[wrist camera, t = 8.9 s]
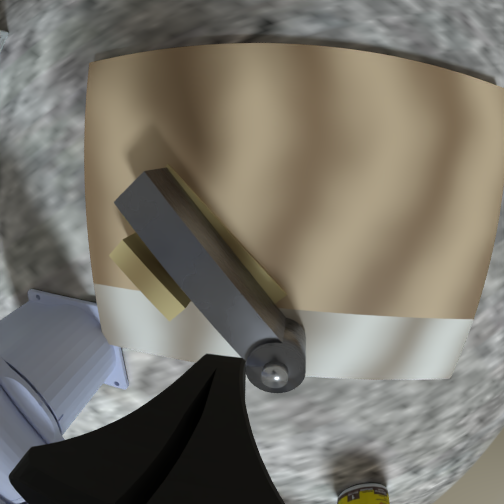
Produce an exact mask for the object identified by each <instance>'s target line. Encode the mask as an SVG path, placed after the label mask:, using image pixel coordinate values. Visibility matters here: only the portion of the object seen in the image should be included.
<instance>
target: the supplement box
mask: <svg viewBox="0 0 504 504" xmlns="http://www.w3.org/2000/svg"><path fill="white" fill-rule="evenodd" d="M8 34H9V32H7V31H4V30H0V53H1V50H2V48H3V45H4V43H5V40H6V38H7V36H8Z"/></svg>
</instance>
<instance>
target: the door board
mask: <svg viewBox="0 0 504 504" xmlns="http://www.w3.org/2000/svg"><path fill="white" fill-rule="evenodd" d="M166 167H167V168H168V169H169V171H170V172H171V173H172V175H173V176H174V177H175V178H176V180H177V181H178V182H179V184H180V185H181V186H182V187H183V189H184V190H185V191H186V193H187V194H188V195H189V196H190V198H191V199H192V200H193V201H194V203H195V204H196V205H197V207H198V208H199V209H200V210H201V212H202V213H203V214H204V215H205V217H206V218H207V219H208V221H209V222H210V223H211V224H212V226H213V227H214V228H215V229H216V231H217V232H218V233H219V234H220V236H221V237H222V238H223V240H224V241H225V242H226V243H227V245H228V246H229V247H230V248H231V250H232V251H233V252H234V253H235V255H236V256H237V257H238V258H239V260H240V261H241V262H242V263H243V265H244V266H245V267H246V268H247V270H248V271H249V272H250V273H251V275H252V276H253V277H254V278H255V280H256V281H257V282H258V283H259V285H260V286H261V287H262V288H263V290H264V291H265V292H266V293H267V295H268V296H269V297H270V298H271V300H272V301H273V302H274V303H275V305H276V306H277V307H278V308H279V309H280V311H281V312H282V313H283V314H284V316H285V317H286V318H290V319H292V320H294V321H296V322H297V323H298V324H300V325H301V327H302V328H303V329H304V332H305V334H306V374H305V376H309V377H324V378H341V379H369V380H423V379H449V378H451V376H452V374H453V371H454V369H455V367H456V364H457V362H458V360H459V357H460V355H461V352H462V350H463V347H464V344H465V342H466V339H467V336H468V334H469V331H470V328H471V325H472V322H473V319H474V316H475V313H476V310H477V307H478V304H479V301H480V297H481V294H482V290H483V287H484V283H485V280H486V276H487V272H488V268H489V264H490V260H491V255H492V251H493V246H494V242H495V237H496V231H497V226H498V220H499V214H500V208H501V201H502V194H503V185H504V88H502V87H499V86H497V85H494V84H491V83H489V82H486V81H483V80H480V79H477V78H474V77H471V76H468V75H465V74H462V73H459V72H455V71H452V70H449V69H445V68H441V67H438V66H434V65H430V64H426V63H422V62H418V61H414V60H409V59H405V58H400V57H395V56H390V55H384V54H379V53H373V52H367V51H360V50H353V49H345V48H337V47H327V46H316V45H302V44H282V43H231V44H211V45H197V46H186V47H176V48H168V49H160V50H153V51H146V52H140V53H134V54H128V55H123V56H118V57H113V58H108V59H104V60H99V61H95V62H91V63H89V72H88V83H87V95H86V111H85V140H84V169H85V199H86V216H87V229H88V240H89V250H90V259H91V267H92V275H93V282H94V289H95V295H96V302H97V308H98V313H99V319H100V324H101V329H102V333H103V335H104V336H105V338H106V339H107V341H108V343H109V344H110V345H114V346H118V347H122V348H126V349H131V350H135V351H140V352H144V353H149V354H154V355H158V356H163V357H168V358H174V359H179V360H184V361H190V362H197V361H198V360H199V359H200V358H201V357H202V356H204V355H205V354H206V353H207V354H215V355H222V356H231V357H239V358H241V357H240V356H239V354H238V353H237V352H236V351H235V350H234V349H233V348H232V347H231V346H230V345H229V343H228V342H227V341H226V340H225V339H224V338H223V337H222V336H221V335H220V333H219V332H218V331H217V330H216V329H215V328H214V327H213V325H212V324H211V323H210V322H209V321H208V320H207V319H206V317H205V316H204V315H203V314H202V313H201V312H200V311H199V309H198V308H197V307H196V306H195V305H194V303H193V302H192V301H191V300H190V299H189V298H188V296H187V295H186V294H185V293H184V292H183V290H182V289H181V288H180V287H179V286H178V284H177V283H176V282H175V281H174V280H173V278H172V277H171V276H170V275H169V273H168V272H167V271H166V270H165V269H164V267H163V266H162V265H161V264H160V262H159V261H158V260H157V259H156V257H155V256H154V255H153V254H152V252H151V251H150V250H149V248H148V247H147V246H146V245H145V243H144V242H143V241H142V240H141V238H140V237H139V236H138V234H137V233H136V232H135V230H134V229H133V228H132V226H131V225H130V224H129V223H128V221H127V220H126V219H125V217H124V216H123V215H122V213H121V212H120V211H119V209H118V208H117V206H116V205H115V204H114V201H115V200H116V199H117V198H118V197H119V196H120V195H121V194H122V193H123V192H124V191H125V190H126V189H127V188H128V187H129V186H130V185H131V184H132V183H133V182H134V181H135V180H136V179H137V178H138V177H139V176H140V175H141V174H142V173H143V172H144V171H148V170H154V169H160V168H166Z"/></svg>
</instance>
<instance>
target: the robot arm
mask: <svg viewBox="0 0 504 504" xmlns="http://www.w3.org/2000/svg"><path fill="white" fill-rule="evenodd" d="M28 298H29V301H28V302H27V303H25V304H24V305H22V306H21V307H19V308H18V309H16V310H15V311H13V312H12V313H10V314H9V315H7V316H6V317H4V318H3V319H2V320H0V504H285V503H284V501H283V500H282V498H281V497H280V495H279V493H278V491H277V489H276V488H275V486H274V484H273V482H272V480H271V478H270V476H269V474H268V472H267V469H266V467H265V465H264V463H263V461H262V458H261V456H260V453H259V451H258V448H257V445H256V442H255V439H254V436H253V433H252V430H251V426H250V423H249V418H248V414H247V409H246V404H245V377H246V361H245V360H244V359H243V358H239V357H231V356H222V355H215V354H207V353H206V354H205V355H204V356H202V357H201V358H200V359H199V360H198V361H197V362H196V363H195V364H194V365H193V366H192V367H191V368H190V369H189V370H188V371H186V372H185V373H184V374H183V375H182V376H181V377H180V378H178V379H177V380H176V381H175V382H174V383H173V384H171V385H170V386H169V387H168V388H166V389H165V390H164V391H163V392H161V393H160V394H159V395H157V396H156V397H154V398H153V399H152V400H150V401H149V402H148V403H146V404H145V405H143V406H142V407H140V408H138V409H137V410H135V411H133V412H132V413H130V414H128V415H127V416H125V417H123V418H121V419H119V420H117V421H115V422H113V423H110V424H108V425H106V426H104V427H101V428H99V429H97V430H94V431H92V432H89V433H86V434H83V435H80V436H77V437H74V438H71V439H67V440H64V438H63V437H62V435H63V434H64V433H65V431H66V430H67V429H68V427H69V426H70V425H71V423H72V422H73V421H74V420H75V418H76V417H77V416H78V414H79V413H80V412H81V411H82V409H83V408H84V407H85V405H86V404H87V403H88V402H89V400H90V399H91V398H92V397H93V395H94V394H95V393H96V392H97V390H98V389H99V388H100V386H101V385H102V384H103V383H104V384H107V385H111V386H114V387H117V388H121V389H127V387H128V386H129V384H128V379H127V375H126V370H125V365H124V361H123V356H122V351H121V347H118V346H114V345H110V344H109V343H108V341H107V339H106V338H105V336H104V335H103V333H102V329H101V324H100V319H99V313H98V308H97V303H93V302H89V301H84V300H79V299H74V298H70V297H65V296H61V295H56V294H52V293H48V292H43V291H39V290H35V289H30V290H29V291H28Z"/></svg>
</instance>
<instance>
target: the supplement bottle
mask: <svg viewBox="0 0 504 504" xmlns="http://www.w3.org/2000/svg"><path fill="white" fill-rule="evenodd" d="M337 504H390V503H389V495H388V490H387V488H386V487H385V486H383V485H381V484H377V483H365V484H359V485H356V486H353V487H350V488H348V489H346V490H344V491H343V492H342V493H341V494H340V495H339V497H338V502H337Z"/></svg>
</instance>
